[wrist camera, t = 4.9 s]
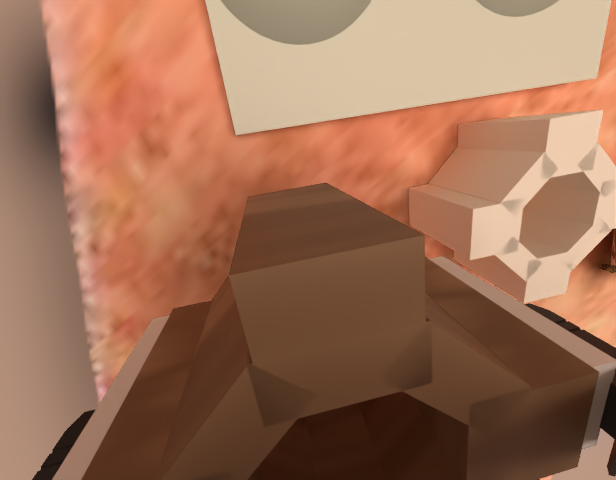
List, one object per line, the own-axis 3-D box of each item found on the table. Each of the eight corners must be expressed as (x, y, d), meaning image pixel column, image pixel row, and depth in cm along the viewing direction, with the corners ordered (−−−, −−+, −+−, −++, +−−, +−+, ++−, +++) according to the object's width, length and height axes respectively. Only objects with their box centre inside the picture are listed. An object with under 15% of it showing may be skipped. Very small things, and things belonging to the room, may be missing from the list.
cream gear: (525, 243, 25) (619, 280, 19) (410, 268, 24) (466, 317, 18) (543, 110, 21) (669, 98, 15) (407, 133, 20) (477, 131, 14)
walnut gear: (425, 376, 15) (556, 557, 8) (217, 430, 14) (177, 687, 7) (420, 165, 11) (641, 190, 5) (140, 216, 10) (-73, 337, 4)
